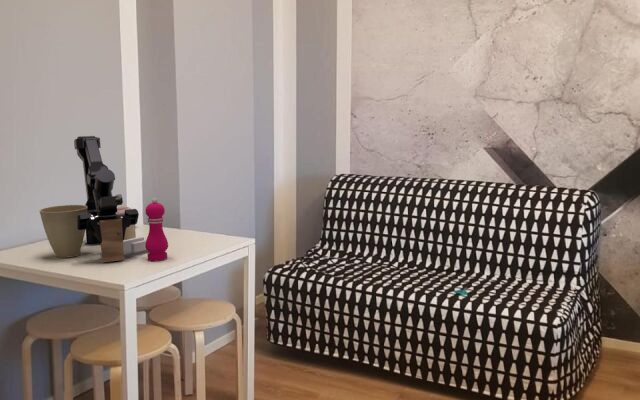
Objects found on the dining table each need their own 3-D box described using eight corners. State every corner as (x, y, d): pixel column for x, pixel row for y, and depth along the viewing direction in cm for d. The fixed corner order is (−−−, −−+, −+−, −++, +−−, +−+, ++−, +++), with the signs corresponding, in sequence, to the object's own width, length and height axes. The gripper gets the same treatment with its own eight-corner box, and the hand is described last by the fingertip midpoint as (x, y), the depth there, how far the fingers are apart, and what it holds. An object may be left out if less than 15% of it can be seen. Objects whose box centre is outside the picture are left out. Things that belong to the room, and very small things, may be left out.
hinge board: (108, 255, 228) (107, 243, 227) (151, 245, 242) (151, 234, 241) (123, 258, 223) (122, 246, 222) (166, 248, 237) (166, 237, 236)
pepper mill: (157, 262, 217) (154, 200, 214) (141, 259, 221) (137, 198, 218) (173, 257, 223) (170, 197, 220) (157, 255, 227) (154, 195, 224)
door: (101, 260, 218) (99, 220, 216) (122, 258, 221) (120, 218, 219) (103, 262, 215) (101, 222, 213) (124, 260, 218) (122, 220, 216)
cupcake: (141, 227, 275) (140, 202, 273) (124, 231, 267) (123, 206, 265) (125, 225, 280) (123, 201, 278) (107, 229, 272) (106, 204, 270)
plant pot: (93, 249, 237) (90, 203, 235) (86, 259, 223) (83, 211, 220) (48, 251, 235) (45, 205, 232) (38, 261, 220) (34, 213, 218)
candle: (139, 240, 251) (137, 213, 249) (129, 243, 246) (127, 215, 244) (127, 239, 253) (125, 212, 251) (117, 242, 248) (115, 214, 246)
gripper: (75, 188, 214) (83, 229, 206) (135, 184, 223) (145, 223, 215) (73, 209, 223) (81, 249, 215) (132, 204, 231) (141, 242, 223)
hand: (112, 240), depth 217 cm, fingers closed on door, 6 cm apart
